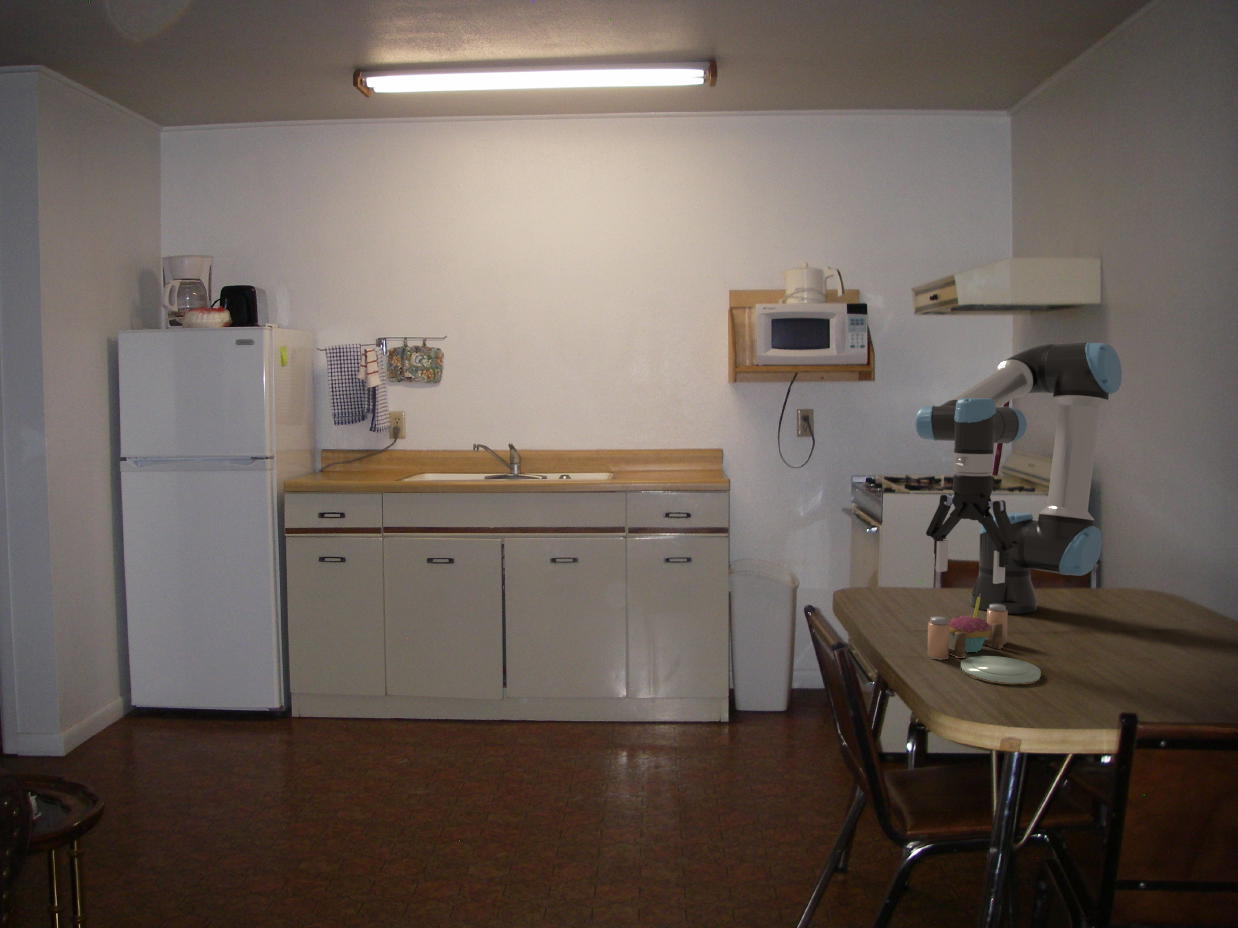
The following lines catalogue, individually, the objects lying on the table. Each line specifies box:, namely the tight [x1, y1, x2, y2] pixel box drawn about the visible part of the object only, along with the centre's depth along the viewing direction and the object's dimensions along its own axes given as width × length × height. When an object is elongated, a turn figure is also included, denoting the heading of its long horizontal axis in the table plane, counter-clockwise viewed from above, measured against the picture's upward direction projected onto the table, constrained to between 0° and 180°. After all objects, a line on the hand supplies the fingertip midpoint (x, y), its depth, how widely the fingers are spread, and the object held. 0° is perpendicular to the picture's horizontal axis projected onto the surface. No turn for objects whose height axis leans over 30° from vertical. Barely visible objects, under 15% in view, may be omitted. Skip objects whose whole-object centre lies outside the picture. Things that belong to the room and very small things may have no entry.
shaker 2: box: [985, 604, 1009, 646], centre depth 191 cm, size 4×4×8 cm
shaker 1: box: [926, 616, 950, 658], centre depth 181 cm, size 4×4×8 cm
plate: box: [960, 655, 1042, 683], centre depth 171 cm, size 14×14×1 cm
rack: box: [949, 623, 1004, 657], centre depth 186 cm, size 7×14×5 cm, turn 122°
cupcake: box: [947, 594, 991, 653], centre depth 186 cm, size 9×8×12 cm
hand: (969, 577), depth 185 cm, fingers open, 13 cm apart
